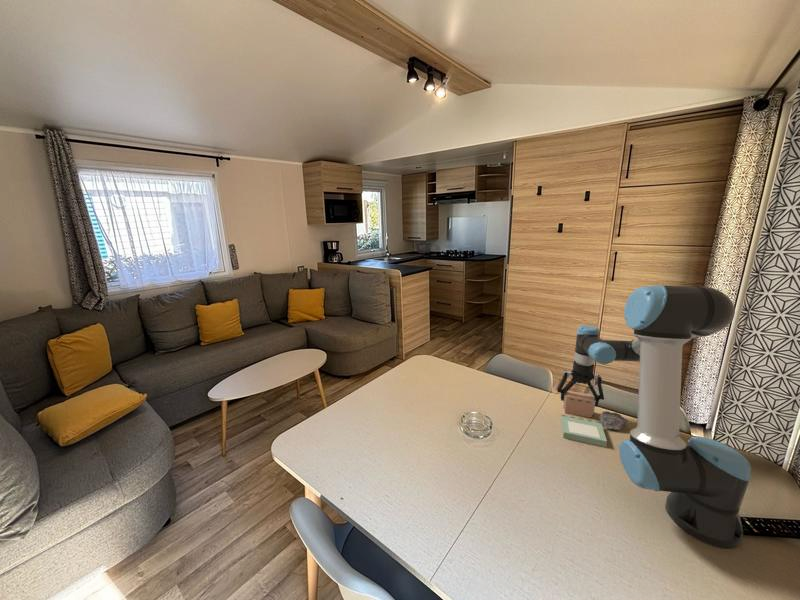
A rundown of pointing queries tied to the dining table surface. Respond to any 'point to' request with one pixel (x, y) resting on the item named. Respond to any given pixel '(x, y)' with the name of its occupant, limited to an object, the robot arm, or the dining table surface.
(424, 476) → the dining table surface
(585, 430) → the green picture frame
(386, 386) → the dining table surface
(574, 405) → the pinkish brown box
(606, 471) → the dining table surface
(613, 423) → the rock
